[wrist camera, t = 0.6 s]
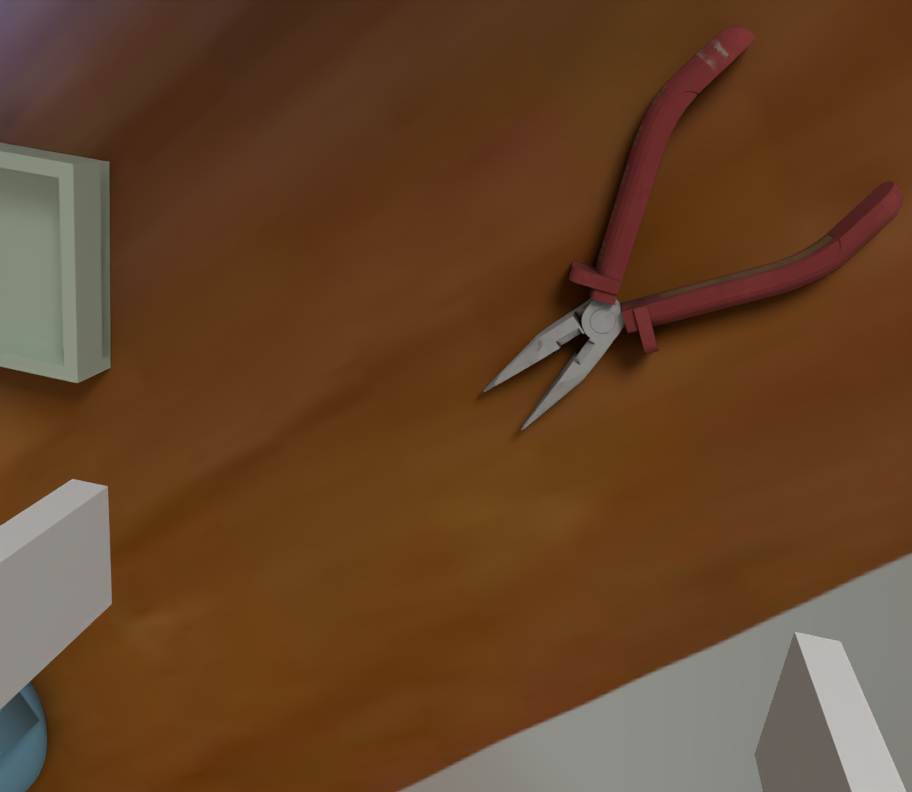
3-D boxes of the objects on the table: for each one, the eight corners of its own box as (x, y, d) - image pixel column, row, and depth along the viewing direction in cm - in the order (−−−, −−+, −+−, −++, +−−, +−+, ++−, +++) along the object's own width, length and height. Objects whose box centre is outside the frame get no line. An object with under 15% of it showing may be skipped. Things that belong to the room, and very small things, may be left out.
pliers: (428, 328, 42) (417, 341, 39) (729, 16, 35) (738, 8, 32) (581, 475, 43) (579, 496, 40) (902, 201, 36) (924, 206, 33)
